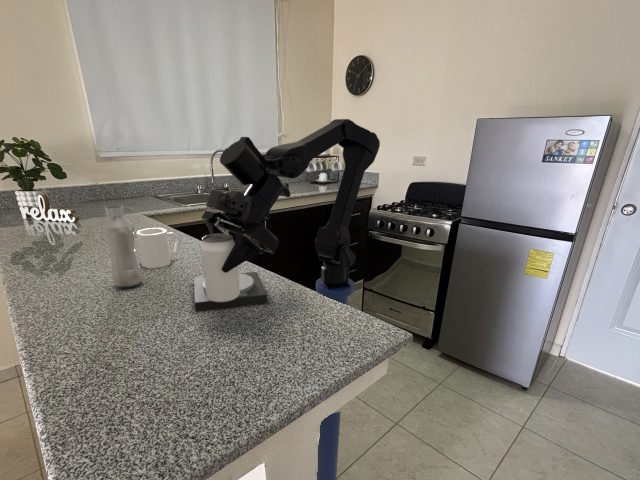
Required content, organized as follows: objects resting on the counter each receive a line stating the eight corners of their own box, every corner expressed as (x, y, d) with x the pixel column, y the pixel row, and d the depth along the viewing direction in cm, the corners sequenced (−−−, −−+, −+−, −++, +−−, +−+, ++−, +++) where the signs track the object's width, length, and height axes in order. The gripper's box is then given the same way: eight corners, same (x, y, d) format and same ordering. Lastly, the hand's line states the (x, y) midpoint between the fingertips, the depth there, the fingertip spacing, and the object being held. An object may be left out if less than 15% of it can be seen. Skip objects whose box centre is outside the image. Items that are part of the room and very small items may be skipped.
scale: (256, 279, 95) (256, 268, 94) (267, 302, 82) (267, 290, 80) (195, 285, 90) (193, 273, 89) (195, 311, 77) (194, 298, 76)
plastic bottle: (116, 281, 91) (99, 205, 83) (144, 278, 93) (131, 203, 85) (112, 291, 85) (94, 210, 78) (142, 288, 88) (128, 208, 80)
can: (241, 300, 67) (237, 241, 63) (206, 305, 65) (199, 244, 61) (238, 287, 73) (233, 231, 68) (206, 291, 71) (199, 234, 66)
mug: (145, 270, 99) (139, 236, 95) (138, 261, 105) (132, 230, 101) (187, 262, 106) (184, 230, 102) (178, 254, 112) (174, 224, 108)
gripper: (205, 168, 69) (158, 232, 66) (262, 177, 57) (208, 257, 54) (241, 203, 77) (201, 262, 74) (298, 218, 65) (253, 288, 62)
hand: (213, 266), depth 66 cm, fingers closed on can, 6 cm apart
